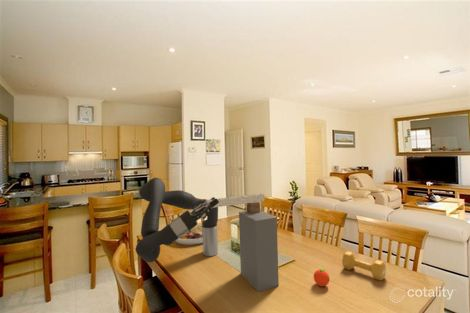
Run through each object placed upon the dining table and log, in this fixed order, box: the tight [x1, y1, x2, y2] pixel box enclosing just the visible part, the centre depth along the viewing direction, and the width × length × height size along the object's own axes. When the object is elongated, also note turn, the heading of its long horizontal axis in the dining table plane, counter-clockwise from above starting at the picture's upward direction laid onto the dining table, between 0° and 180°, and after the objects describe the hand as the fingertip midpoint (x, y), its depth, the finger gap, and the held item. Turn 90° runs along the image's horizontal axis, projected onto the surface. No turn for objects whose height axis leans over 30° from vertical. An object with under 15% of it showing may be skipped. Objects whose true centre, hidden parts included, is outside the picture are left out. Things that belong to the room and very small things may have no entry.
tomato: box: [313, 268, 330, 287], centre depth 112 cm, size 8×7×7 cm
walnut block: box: [246, 201, 261, 213], centre depth 123 cm, size 5×5×5 cm
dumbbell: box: [341, 251, 387, 282], centre depth 121 cm, size 19×9×8 cm, turn 41°
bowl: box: [175, 225, 203, 246], centre depth 177 cm, size 30×30×8 cm
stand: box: [238, 209, 280, 293], centre depth 118 cm, size 18×11×32 cm, turn 23°
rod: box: [206, 193, 265, 208], centre depth 110 cm, size 3×28×3 cm, turn 114°
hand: (216, 199), depth 107 cm, fingers closed on rod, 3 cm apart
